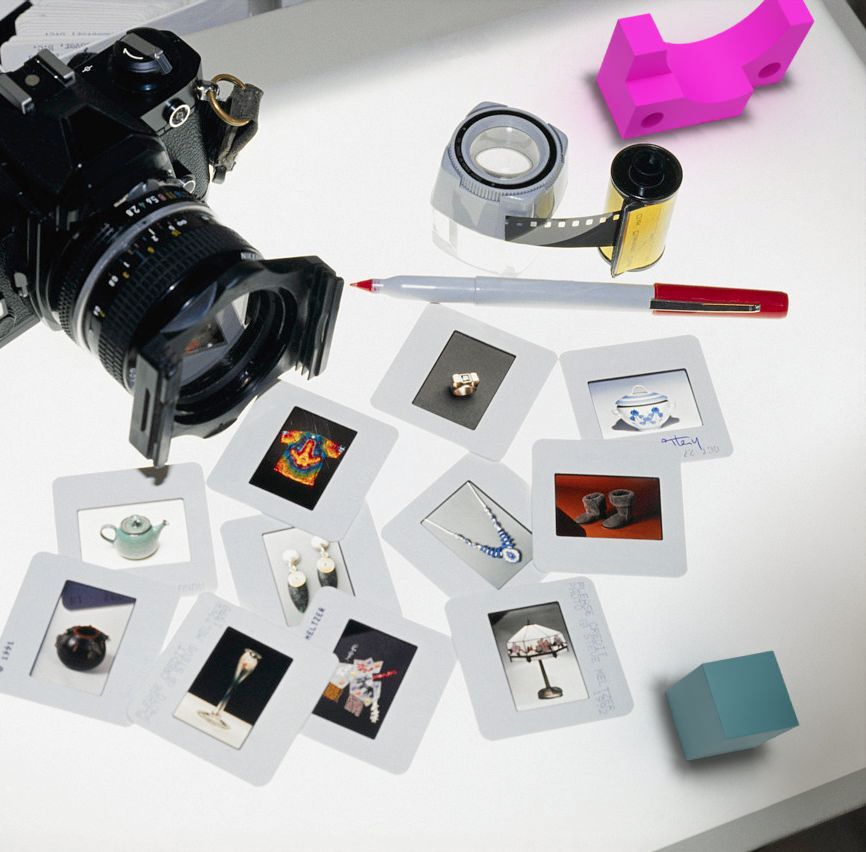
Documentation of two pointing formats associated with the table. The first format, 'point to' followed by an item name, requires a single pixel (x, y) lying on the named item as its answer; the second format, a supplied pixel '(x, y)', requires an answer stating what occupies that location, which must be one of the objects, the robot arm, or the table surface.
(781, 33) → the magenta bracket
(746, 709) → the teal rectangular block
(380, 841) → the table surface
